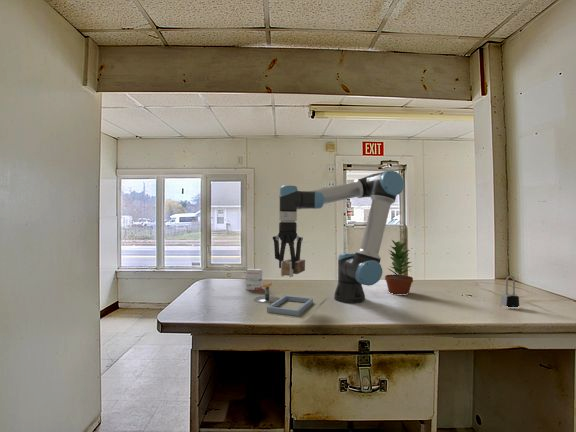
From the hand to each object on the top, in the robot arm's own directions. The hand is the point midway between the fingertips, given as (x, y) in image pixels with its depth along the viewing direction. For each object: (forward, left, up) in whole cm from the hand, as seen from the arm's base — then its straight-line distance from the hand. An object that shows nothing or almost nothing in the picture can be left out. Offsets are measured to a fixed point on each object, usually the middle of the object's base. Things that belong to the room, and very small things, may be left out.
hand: (287, 276), depth 134 cm
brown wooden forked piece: (0, -6, +1) cm, 6 cm away
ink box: (+31, -29, -16) cm, 45 cm away
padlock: (-93, -48, -16) cm, 106 cm away
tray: (0, -5, -16) cm, 16 cm away
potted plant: (-44, -57, -16) cm, 74 cm away
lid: (+15, -12, -16) cm, 25 cm away
